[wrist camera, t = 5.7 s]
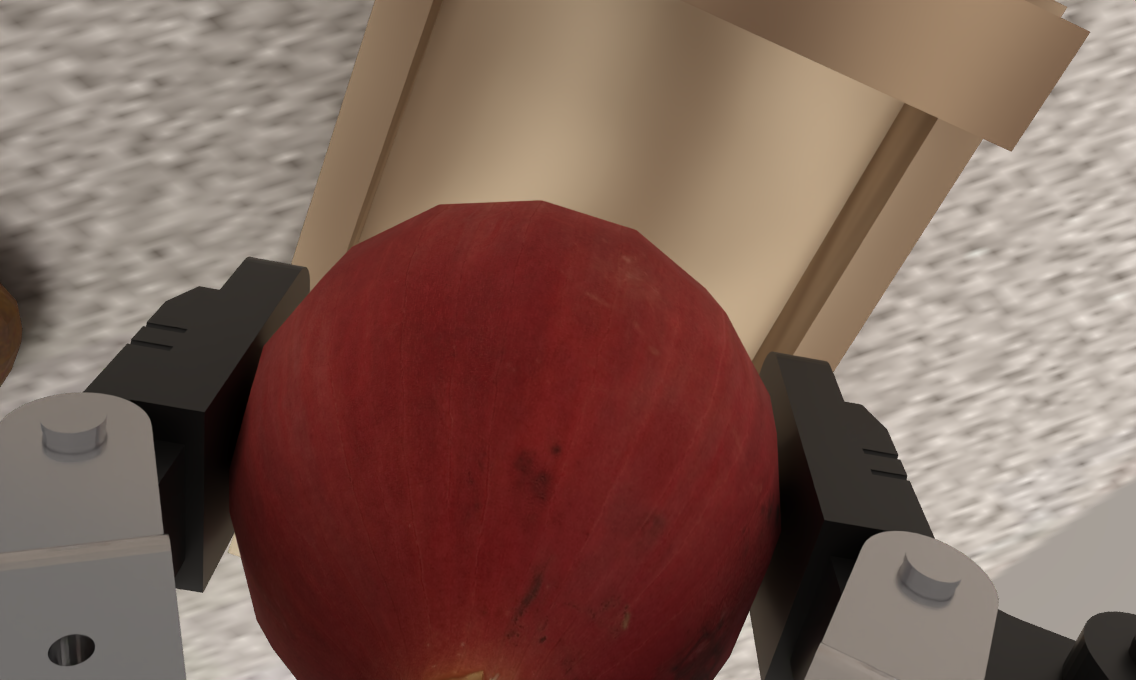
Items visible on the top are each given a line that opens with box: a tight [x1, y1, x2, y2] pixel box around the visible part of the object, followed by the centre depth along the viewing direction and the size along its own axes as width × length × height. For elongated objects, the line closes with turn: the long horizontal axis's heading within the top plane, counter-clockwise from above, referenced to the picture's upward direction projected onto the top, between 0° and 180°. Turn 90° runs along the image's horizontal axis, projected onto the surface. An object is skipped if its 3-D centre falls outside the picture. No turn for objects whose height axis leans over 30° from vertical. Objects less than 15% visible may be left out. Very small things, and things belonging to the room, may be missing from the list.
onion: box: [229, 200, 781, 680], centre depth 11 cm, size 6×6×8 cm
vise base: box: [291, 0, 1090, 374], centre depth 26 cm, size 14×22×7 cm, turn 157°
